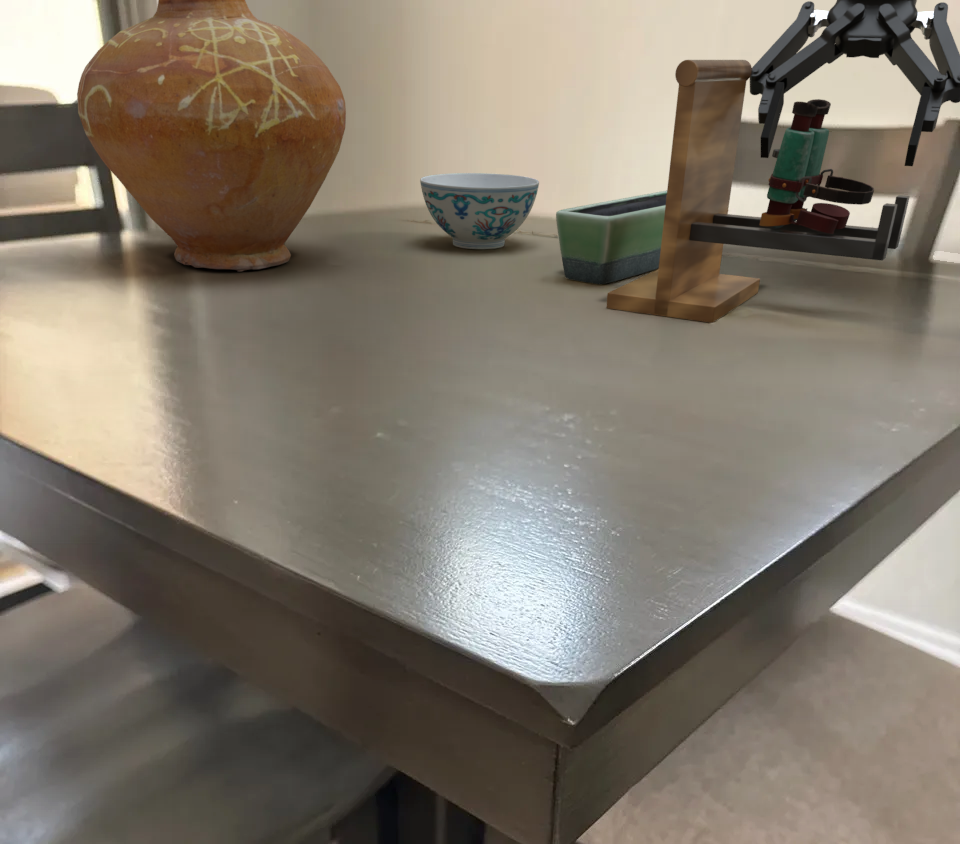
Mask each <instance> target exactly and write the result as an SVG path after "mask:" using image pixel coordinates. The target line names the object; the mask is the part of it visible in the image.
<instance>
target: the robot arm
mask: <svg viewBox="0 0 960 844" xmlns="http://www.w3.org/2000/svg"><path fill="white" fill-rule="evenodd" d="M917 2H918V0H836V2H835V3H834V5H833V6H832V7H831V8H830V10H824V9H823V10H822V9H815V3H814V1H810V0H809V1H805V2H804V3H803V4H802V5H801V7H800V9H799V12H798V14H797V17H796V19H795V20H794V21H793V22H792V23H791V25H789V27H788V28H787V29H786V30H785V31H784V32H783V33H782V34H781V35H780V36H779V38H778V39H776V41H775V42H773V44H772V45H771V46H770V47H769V49H768V50H767V51H765V53H764V54H763V55H762V56H761V58H759V59H758V60H757V61H756V63H755V64H754V65H753V66H751V67H752V73H751V76H750V78H749V93H750V95H752V96H758V95H761V96H760V97H761V98H760V101H759V105H758V107H757V114H758V115H757V119H758V124H759V125H763V128H762V131H761V135H760V159H769V158H770V157H769V156H770V153H771V150H772V146H773V143H774V139H775V136H776V133H777V129H778V125H779V122H780V118H781V115H782V112H783V107H784V104H785V94H786V93H788V92H789V91H790V90H791V89H793V88H794V87H795V86H797V85H798V84H800V83H801V82H802V81H804V80H805V79H806V78H808V77H809V76H811V75H812V74H813V73H815V72H816V71H817V70H818V69H820V68H822V67H823V66H825V64H828V65H831V64H832V63H833V62H835V61H836V60H837V59H839V58H840V57H842V56H843V55H846V56H845V57H846V58H860V57H866V58H870V59H879V58H880V56H883V55H884V56H885V57H886V59H887V60H888V61H889V62H890V63H891V65H892V66H896V67H898V69H899V70H900V71H901V73H902V74H903V75H904V76H905V77H906V79H907V81H909V83H910V84H911V86H912V87H913V88H914V89H915V90H916V92H918V94H919V95H920V97H919V101H918V105H917V109H916V112H915V117H914V121H913V126H912V128H911V133H910V137H909V140H908V144H907V150H906V154H905V160H904V164H903V165H904V167H913V166H914V163H915V159H916V155H917V152H918V151H917V150H918V147H919V144H920V140H921V135H922V132H923V133H933V132H934V130H935V129H936V127H937V124H938V123H937V122H938V119H939V115H940V111H941V107H942V105H944V104H945V103H947V102H951V103H952V104H957V103H958V104H959V103H960V51H959V49H958V46H957V44H956V40H955V39H954V35H953V33H952V31H951V29H950V26H949V23H948V13H949V4H948V3H946V2H944V1H943V2H938V3H936V5H935V6H934V8H933V10H929V11H918V9H917V7H916V5H917ZM822 28H824V29H823V30H822V32H821V34H820V35H819V36H818V37H817V38H815V39H814V40H813V41H812V42H810V43H808V44H807V45H806V46H805V47H804V45H805V44H806V43H807V41H808V39H809V38H814V37H815V36H816V35H815V34H816V33H817V32H818V30H819V29H822ZM915 29H919V30H920V32H921V34H922V35H923V36H924V37H923V38H924V40H929V41H928V43H929V44H928V45H929V50H930V52H931V55H932V57H933V60H934V62H935V65H936V66H935V65H934V64H933V62H932V61H931V60H930V59H929V57H928V56H927V55H926V54H925V52H924V51H923V50H922V49H921V47H920V46H919V45H918V44H917V43H916V41H915V40H914V39H913V38H912V33H913V32H914V30H915Z"/></svg>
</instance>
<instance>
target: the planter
mask: <svg viewBox="0 0 960 844" xmlns="http://www.w3.org/2000/svg"><path fill="white" fill-rule="evenodd" d="M666 197H667V190H663V191H662V190H661V191H657V192H650V193H646V194H639V195H633V196H628V197H622V198H617V199H612V200H606V201H601V202H596V203H595V202H594V203H590V204H585V205H580V206H573V207H568V208H563V209H560V210H557V211H556V213H555V220H556V229H557V236H558V243H559V249H560V250H559V251H560V255H561V262H562V268H563V273H564V274H563V275H564V278H566V279H567V280H572V281H576V282H580V283H581V282H582V283H587V284H594V285H605V284H609V283H610V284H611V283H614V282H617V281H621V280H624V279H628V278H632V277H634V276H638V275H641V274H646V273H650V272H653V271H656V270H658V269H659V261H660V252H661V243H662V233H663V224H664V215H665V206H666Z"/></svg>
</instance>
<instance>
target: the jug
mask: <svg viewBox="0 0 960 844" xmlns="http://www.w3.org/2000/svg"><path fill="white" fill-rule="evenodd" d="M76 96H77V97H76V99H77V114H78V117H79V119H80V123H81V124H82V127H83V130H84V133H85V135H86V138H87V139H88V140H89V142H90V144H91V145H92V147H93V149H94V150H95V152H96V154H98V156H99V158H100V160H101V161H102V162H103V164H104V165H105V166H106V167H107V169H109V171H110V172H111V173H112V174H113V175H114V176H115V177H116V178H117V179H118V181H119V183H121V185H122V186H123V187H124V188H125V189H126V190H127V192H128V193H129V194H130V195H131V196H132V197H133V199H134V200H135V201H136V202H137V203H138V204H139V206H140V208H142V209H143V210H144V212H145V213H146V214H147V216H148V217H149V218H150V219H151V220H152V221H153V222H154V223H155V224H156V225H157V226H158V227H159V228H160V229H162V230H163V232H165V234H167V235H168V236H169V237H170V238H171V240H172V241H173V242H174V243H175V245H176V246H177V247H176V248H175V250H174V255H173V256H174V259H175V260H176V262H179V263H180V264H183V265H184V266H191V267H193V268H201V269H203V268H204V269H210V270H211V269H212V270H233V271H237V272H244V271H247V270H253V271H255V270H262V269H267V268H270V267H275V266H280V265H283V264H285V263H287V262H290V261H289V260H290V259H291V256H292V254H291V252H290V250H289V248H288V247H287V246H286V245H285V243H286V242H287V241H288V239H289V238H290V236H291V235H292V233H293V232H294V231H295V229H296V228H297V226H298V225H299V224H300V222H301V221H302V219H303V218H304V216H305V215H306V213H307V212H308V210H309V209H310V207H311V205H312V204H313V202H314V200H315V198H316V197H317V195H318V193H319V191H320V189H321V188H322V186H323V184H324V183H325V180H326V178H327V176H328V175H329V172H330V170H331V169H332V167H333V164H334V163H335V160H336V158H337V157H338V154H339V152H340V150H341V145H342V141H343V137H344V134H345V131H346V123H347V122H346V119H347V108H346V107H347V106H346V100H345V96H344V93H343V91H342V88H341V86H340V84H339V82H338V81H337V80H336V77H334V75H333V74H332V72H331V71H330V69H329V68H328V66H327V65H326V63H324V62H323V60H322V59H321V58H320V57H319V56H318V55H317V54H316V53H315V52H314V51H313V50H312V48H310V47H309V46H308V45H307V44H306V43H305V42H303V41H302V40H300V39H299V38H298V37H296V36H295V35H294V34H291V33H290V32H288V31H287V30H285V29H284V28H283V27H280V26H279V25H277V24H273V23H270V22H267V21H263V20H260V19H259V18H257V17H256V16H255V15H254V14H253V13H252V11H251V10H250V8H249V6H248V4H247V1H246V0H158V2H157V7H156V11H155V13H154V14H153V16H152V17H149V18H148V19H145V20H143V21H141V22H138V23H135V24H134V25H131V26H129V27H127V28H125V29H122V30H120V31H118V32H117V33H116V34H114V36H112V37H111V38H110V39H108V41H106V42H105V43H104V44H103V45H102V46H101V47H100V48H99V49H98V50H97V51H96V52H95V54H94V55H93V56H92V58H90V60H89V61H88V63H87V64H86V65H85V66H84V69H83V71H82V72H81V75H80V79H79V82H78V87H77V93H76Z"/></svg>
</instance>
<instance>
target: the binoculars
mask: <svg viewBox="0 0 960 844" xmlns="http://www.w3.org/2000/svg"><path fill="white" fill-rule="evenodd" d="M831 104H832V103H831V102H830V101H829V100H826V99H820V98H818V99H810V100H808V101H807V102H806V101H794V102H793V105H792V106H793V107H792V109H791V110H792V111H791V114H793V117H792V122H791V126H789V127H787V128H785V131H784V134H783V137H782V140H781V144H780V146H779V147H780V148H775V149H773V150H772V154H771V157H772V158H775V159H776V161H775V164H774V167H773V172H772V173H771V175H770V177H769V178H768V189H767V194H766V199H767V200H769V201H768V205H767V209H766V211H765V212H762V213H761V216H760V217H761V220H760V224H759V225H760V226H770V227H772V228H781V227H783V226H784V225H788V224H791V223H793V224H796V225H802V226H805V227H808V228H811V229H814V230H818V231H821V232H825V233H830V234H833V233H834V230H835V229H842V228H844V227H845V226H846V225H847V223H848V221H849V218H850V214H851V212H850V211H849V210H848V209H847V208H845V207H843V206H841V205H838V204H844V205H859V206H862V205H867V204H870V203H871V201H872V199H873V196H874V192H875V188H874V187H873V186H872V185H870V184H868V183H866V182H862V181H859V180H856V179H851V178H848V177H847V178H846V177H843V176H836V175H833V174H834V169H832V168H828V169H823V170H822V166H823V161H824V157H825V153H826V149H827V144H828V139H829V134H830V130H829V128H825V127H823V123H824V120H825V117H826V115H829V113H830V112H829V111H830V109H831ZM821 170H822V171H821ZM829 172H830V174H829V175H827V176H826V177H827V178H826V180H825V185H824V186H821V184H822V182H823V179H824V174H825V173H829ZM807 198H813V199H817V200H821V201H826V202H815V203H813V204H812V206H811V210H808V208H805V207H804V204H805V202H806V201H807ZM828 202H830V203H828ZM833 203H834V204H833ZM794 221H796V222H794Z"/></svg>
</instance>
